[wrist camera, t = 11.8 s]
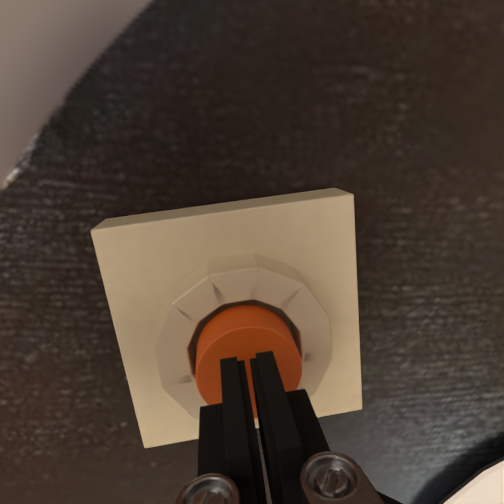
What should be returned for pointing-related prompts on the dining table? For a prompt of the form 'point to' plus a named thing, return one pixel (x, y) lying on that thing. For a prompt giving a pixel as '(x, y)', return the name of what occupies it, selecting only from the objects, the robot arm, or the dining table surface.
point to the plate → (480, 486)
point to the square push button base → (232, 296)
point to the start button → (244, 349)
